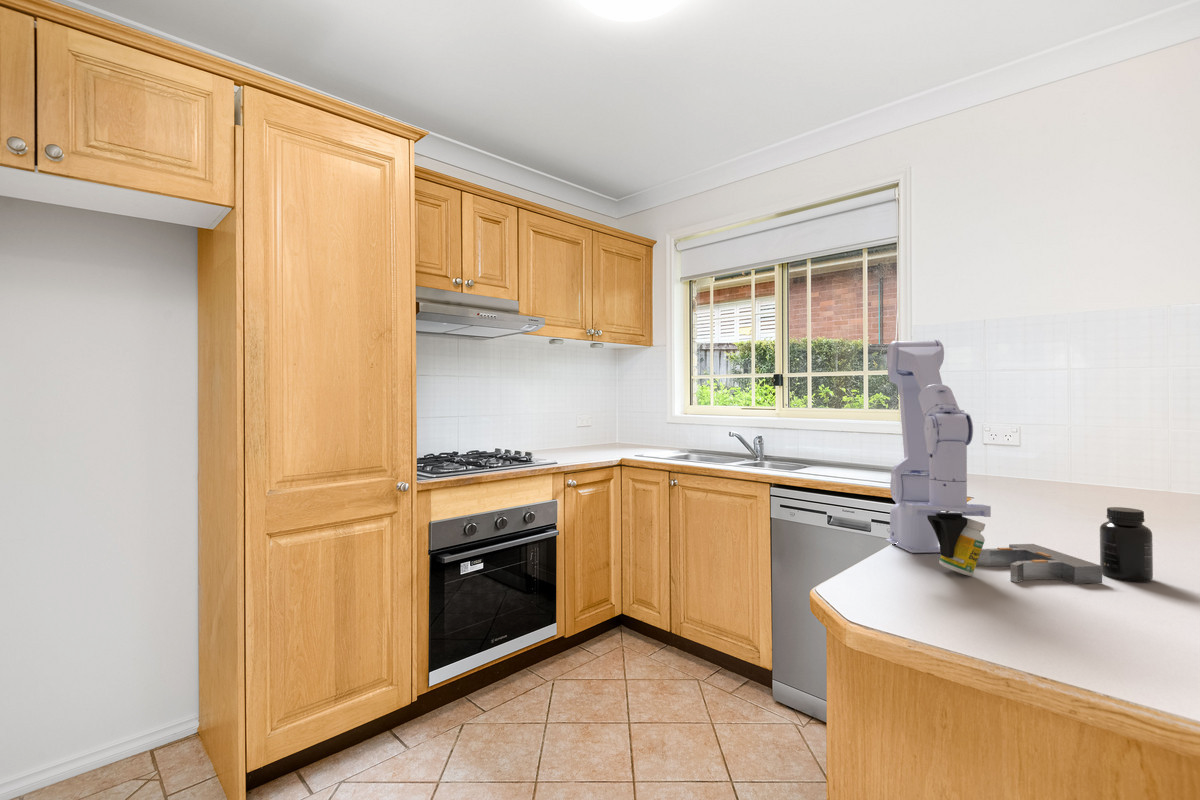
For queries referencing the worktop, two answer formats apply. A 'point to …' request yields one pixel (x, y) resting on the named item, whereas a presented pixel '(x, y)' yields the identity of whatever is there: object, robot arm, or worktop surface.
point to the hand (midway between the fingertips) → (947, 556)
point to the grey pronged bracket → (1041, 564)
